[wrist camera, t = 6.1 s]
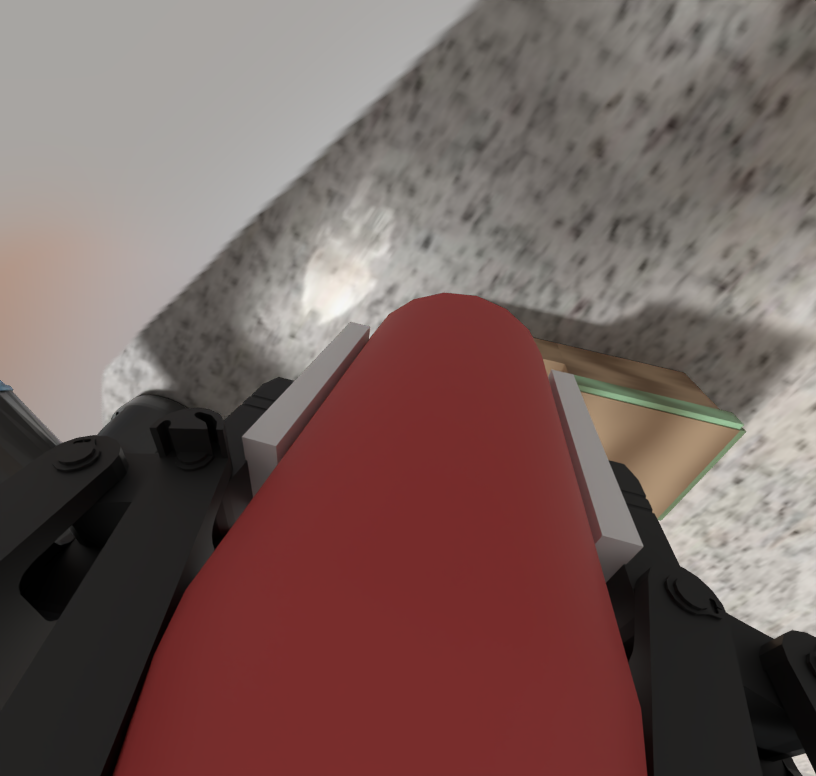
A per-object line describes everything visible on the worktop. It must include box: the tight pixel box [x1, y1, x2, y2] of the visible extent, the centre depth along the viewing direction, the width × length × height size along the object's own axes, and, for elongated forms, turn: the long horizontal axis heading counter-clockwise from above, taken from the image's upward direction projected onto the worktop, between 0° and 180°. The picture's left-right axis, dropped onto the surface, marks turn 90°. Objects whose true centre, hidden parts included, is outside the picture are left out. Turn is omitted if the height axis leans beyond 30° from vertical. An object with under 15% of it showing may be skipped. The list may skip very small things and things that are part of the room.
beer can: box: [112, 293, 647, 776], centre depth 8 cm, size 7×7×12 cm
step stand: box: [533, 338, 746, 520], centre depth 30 cm, size 22×10×8 cm, turn 80°
